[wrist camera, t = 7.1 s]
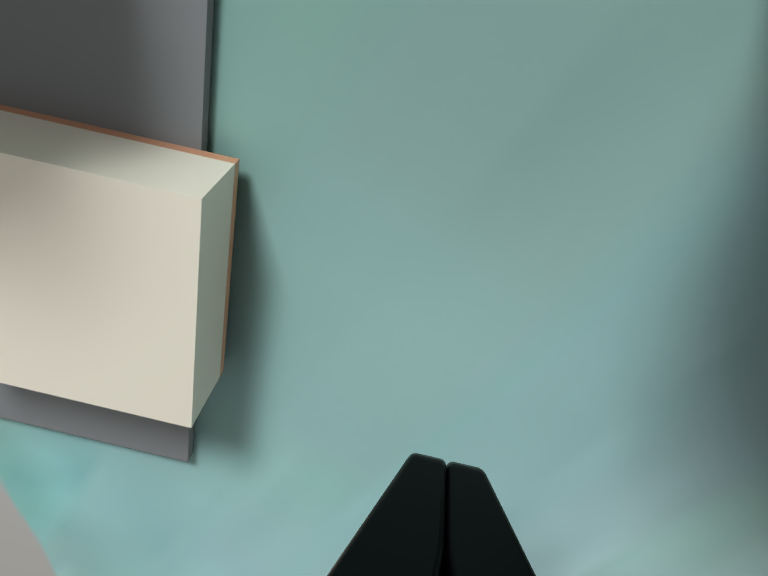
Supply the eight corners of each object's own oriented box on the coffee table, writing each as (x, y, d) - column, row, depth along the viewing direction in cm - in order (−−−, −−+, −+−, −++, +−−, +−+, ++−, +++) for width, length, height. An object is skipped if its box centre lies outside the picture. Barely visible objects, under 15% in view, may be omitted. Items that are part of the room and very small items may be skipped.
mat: (215, -38, 17) (208, -36, 17) (192, 452, 27) (187, 461, 26) (-170, -123, 18) (-187, -124, 17) (-60, 392, 27) (-69, 400, 27)
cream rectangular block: (201, 198, 17) (-138, 120, 17) (191, 428, 21) (-83, 363, 21) (239, 158, 20) (-57, 91, 20) (223, 370, 24) (-21, 312, 24)
